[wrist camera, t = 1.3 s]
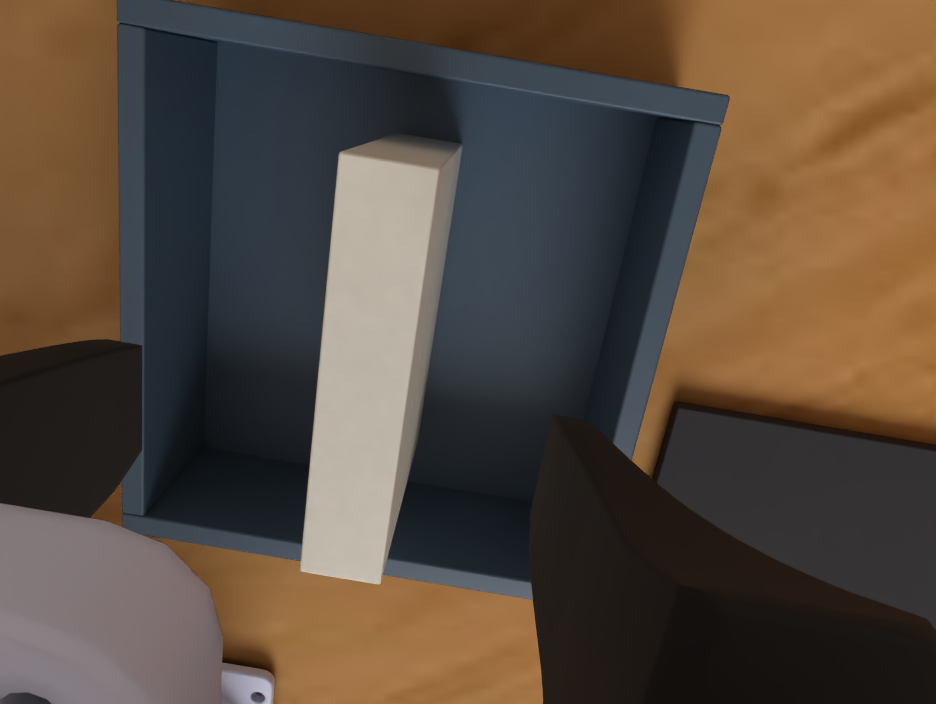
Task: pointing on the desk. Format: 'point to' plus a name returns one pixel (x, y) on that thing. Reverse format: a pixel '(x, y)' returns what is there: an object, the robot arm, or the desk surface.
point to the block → (375, 346)
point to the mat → (812, 498)
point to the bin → (463, 284)
